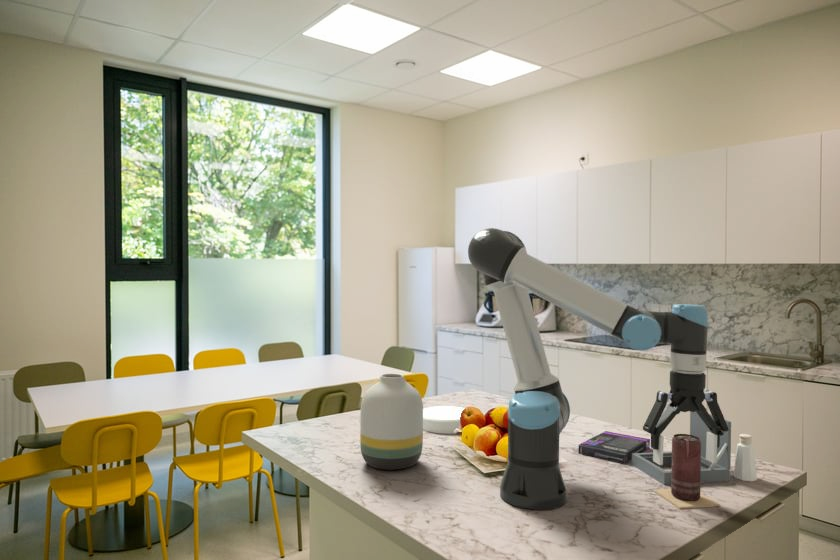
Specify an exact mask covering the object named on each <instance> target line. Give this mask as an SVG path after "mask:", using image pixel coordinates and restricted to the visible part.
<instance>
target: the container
mask: <svg viewBox="0 0 840 560" xmlns="http://www.w3.org/2000/svg"><path fill="white" fill-rule="evenodd" d="M464 409H465V407H460V406H450V405H447V406H446V405H440V406H439V405H438V406H431V407H429V406H428V407H425V408H423V431H426V432H429V433H437V434H449V435H450V434H455V433H454V430H455V429H456V428H458V427H459V425H460V417H461V413H462V411H463V410H464Z"/></svg>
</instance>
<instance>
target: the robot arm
mask: <svg viewBox="0 0 840 560" xmlns="http://www.w3.org/2000/svg"><path fill="white" fill-rule="evenodd" d="M467 248H468V249H467V254H468V255H467V256H468V259H469V262H470V264H471V265H472V267H473V268H474V269H475V270H476V271H478V272H479V273H480V274H482V275H483V277H482V278H483V280H484V283H485V287H486V288H488V290H491V291H492V292H493V294H494V297H495V301H496V302H495V303H496V306H497V309H498V312H499V316H500V321H501V324H502V327H503V331H504V334H505V338H506V341H507V346H508V349H509V352H510V356H511V361H512V364H513V368H514V372H515V375H516V378H517V383H516V385H515V386H514V388H513V390H514V391H513V392H514V393H515V394H514V395H512V396H511V397H510V399H509V400H508V401H509V402H508V406H507V416H508V417H507V418H508V419H507V421H508V423H507V433H508V434H507V436H508V437H507V464H506V467H505V470H504V472H503V474H502V475H503V476H502V477H501V481H500V485H499V496H500V498H501V499H502V500H503V501H504V502H506V503H507V504H510V505H512V506H515V507H518V508H521V509H528V510H538V511H539V510H540V511H542V510H553V509H557V508H560V507H562V506H564V505H565V503H566V502H567V487H566V485H565V481H564V477H563V475H562V471H561V468H560V435H561V433H562V432H563V430H564V428H565V427H566V426H567V424H568V422H569V419H570V417H571V416H570V415H571V414H570V413H571V407H570V402H569V399H568V397H567V396H566V395H565V393H564V392H563V390H562V386H561V382H560V380H559V377H558V376H555V375H554V374H553V373H552V372H551V370H550V367H549V362H548V358H547V355H546V352H545V351H546V350H545V348H544V344H543V341H542V337H541V334H540V333H541V332H540V329H539V326H538V322H537V320H536V315H535V312H534V307H533V305H532V301H531V297H530V294H529V292H530V293H531V294H534V295H535V296H537V297H539V298H540V299H543V300H545V301H547V302H549V303H550V304H552V305H554V306H556V307H558V308H560V309H562V310H564V311H566V312H568V313H569V314H572V315H574V316H576V317H577V318H579V319H581V320H583V321H585V322H587V323H588V324H590V325H592V326H595V327H596V328H597V329H600V330H601V331H604V332H606V333H608V334H609V335H611V336H613V337H614V338H617V339H618V340H619V341H622V342H624V343H625V344H626V345H627V346H628V347H629V348H631V349H632V350H635V351H638V352H639V351H640V352H644V351H648V350H651V349H652V348H654V347H655V346H657V344H663V345H670V355H669V356H670V357H669V358H670V359H669V367H670V368H671V370H670V371H669V387H670V390H669V392H664V391H662V390H658V391H657V393H656V400H655V402H654V404H653V406H652V408H651V410H650V412H649V414H648V415H647V418H646V421H645V422H644V424H643V426H642V430H643V431H644V432H646V433H648V434H650V448H652V449H653V450H652V451H653V452H652V453H653V461H654V462H655V463H657V464H659V465H663V452H664V439H665V438H664V436H663V435H662V433H663V432H664V431H665V429H666V428H667V427H668V426H669V424H670V423H671V422H672V421H673V420H674V418H675V417H676V416H677V415H679V414H681V412H682V413H687V412H690V411H691V412H695V411H696V412H697V414H698V415H699V416H700V418H701V419H702V420H703V422H704V423H705V424H706V426H707V427H708V428H709V430H710V431H711V432H707V438H706V460H708V461H710V462H712V463H716V461H717V448H719V445H720V435H721V436H722V435H723V434H724V431H725V432H727V431H728V426H727V424H726V421H725V420H726V419H725V417H724V415H723V411H722V409H721V408H720V405H719V403H718V395H717V394H718V393H716V391H715V392H714V391H711V390H709V389H708V390H706V391H705V389H706V384H707V383H706V380H707V379H706V378H707V375H706V374H705V373H704V372H705V371H707V348H708V331H709V330H708V329H709V328H708V326H709V324H708V308H706V306H704V305H702V304H693V303H691V304H688V303H675V304H673V305H672V307H671V310H670V311H653V310H652V311H648V310H639V309H637V308H635V307H633V306H630V305H628V304H627V303H625V302H623V301H621V300H619V299H617V298H615V297H613V296H610V295H609V294H607V293H605V292H603V291H601V290H599V289H597V288H596V287H593V286H591V285H589V284H587V283H585V282H583V281H581V280H580V279H578V278H576V277H573V276H571V275H570V274H567V273H565V272H564V271H562V270H559V268H555V267H554V266H552V265H550V264H548V263H546V262H544V261H542V260H540V259H538V258H536V257H534V256H532V255H531V254H528V252H527V248H526V246H525V244H524V242H523V241H522V239H520V237H519V236H518V235H516V234H515V233H513V232H510V231H508V230H502V229H499V228H492V227H491V228H485V229H482V230H480V231H479V232H477V233H475V234H474V236H472V238H471V240H470V241H469V244H468V247H467ZM704 400H705V402H706V405H707V406H708V409H709V411H710V413H709V412H708V411H707V408H706V407H705V405H704V404H703V402H704ZM669 401H670V402H669ZM668 402H669V403H668ZM708 413H709V414H711V415H712V417H713V419H714V420H713V419H712V418H711V416H710V415H709V414H708ZM714 421H715V422H714Z"/></svg>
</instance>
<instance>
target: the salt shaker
mask: <svg viewBox="0 0 840 560" xmlns="http://www.w3.org/2000/svg"><path fill="white" fill-rule="evenodd" d="M738 436H739V443H737V445H736V452H735V461H734V468H733V474H732V475H733V477H734V479H737V480H740V481H745V482H755V481H757V480H758V475H757V466H756V458H755V457H756V456H755V447H754V445H753V444H752V441H753V440H752V438H753V436H752V435H751V434H746V433H741V434H739V435H738Z"/></svg>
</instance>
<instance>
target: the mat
mask: <svg viewBox="0 0 840 560" xmlns="http://www.w3.org/2000/svg"><path fill="white" fill-rule="evenodd" d="M653 492H654V493H655V494H657V495H659V497H661V498H663V499H664V500H665V501H667V502H669V503H670V504H672V505H673V506H675V507H677V508H678V509H679V510H680V509H682V510H684V509H697V508H698V509H700V508H709V507H712V508H715V507H721V504H720V503H718V502H717V501H715V500H714V499H712V498H710V497H709V496H707V495H705V494H704V493H702V492H700V498H699V500H697V501H683V500H680V499H677V498H675V497H674V496H673V495H672V493H671V488H662V489H660V488H659V489H653Z"/></svg>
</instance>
